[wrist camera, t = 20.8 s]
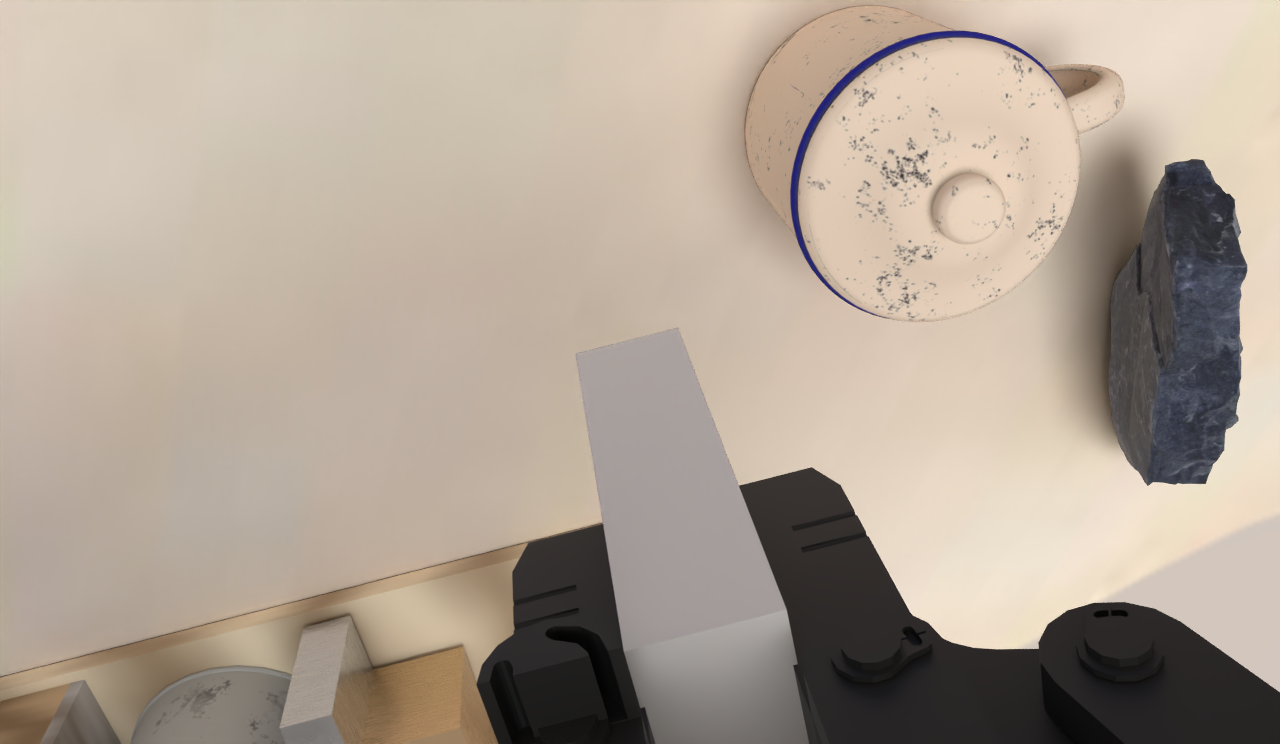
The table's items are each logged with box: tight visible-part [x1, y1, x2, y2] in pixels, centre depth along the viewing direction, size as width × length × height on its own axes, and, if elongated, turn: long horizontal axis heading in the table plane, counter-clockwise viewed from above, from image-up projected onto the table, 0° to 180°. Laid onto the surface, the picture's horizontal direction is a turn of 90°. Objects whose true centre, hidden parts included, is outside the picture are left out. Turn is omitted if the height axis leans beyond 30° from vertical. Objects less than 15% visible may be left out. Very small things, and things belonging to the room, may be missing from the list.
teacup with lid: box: [745, 6, 1125, 322], centre depth 37 cm, size 12×9×12 cm
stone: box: [1109, 159, 1247, 485], centre depth 42 cm, size 14×6×10 cm, turn 29°
